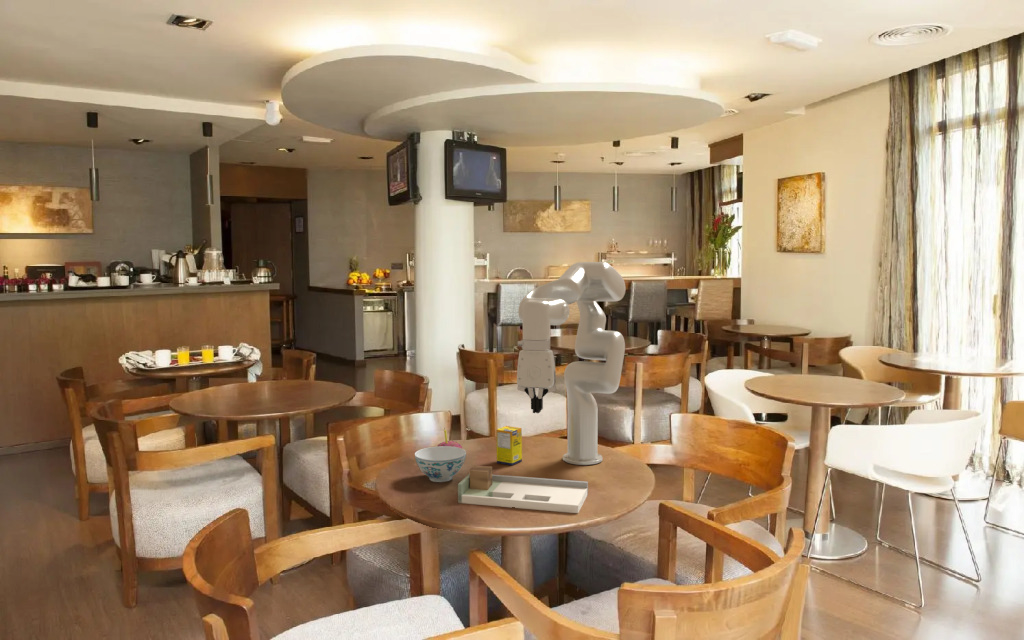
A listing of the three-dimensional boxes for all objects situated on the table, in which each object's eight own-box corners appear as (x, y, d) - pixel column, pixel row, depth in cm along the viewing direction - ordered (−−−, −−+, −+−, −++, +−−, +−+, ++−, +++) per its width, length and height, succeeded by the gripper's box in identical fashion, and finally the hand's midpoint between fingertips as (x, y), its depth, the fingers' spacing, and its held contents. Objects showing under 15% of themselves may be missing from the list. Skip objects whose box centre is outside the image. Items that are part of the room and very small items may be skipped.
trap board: (476, 485, 200) (475, 468, 199) (587, 494, 191) (587, 476, 191) (458, 502, 185) (457, 484, 185) (578, 513, 177) (578, 493, 176)
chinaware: (477, 477, 206) (476, 452, 206) (438, 490, 196) (437, 463, 195) (443, 468, 217) (442, 443, 216) (404, 479, 206) (404, 453, 205)
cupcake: (451, 469, 215) (451, 430, 214) (430, 465, 220) (429, 427, 219) (468, 462, 223) (467, 425, 222) (446, 458, 227) (446, 422, 226)
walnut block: (474, 483, 195) (474, 465, 195) (492, 484, 194) (492, 466, 194) (469, 488, 190) (469, 470, 190) (487, 490, 189) (487, 471, 189)
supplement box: (522, 461, 223) (522, 427, 222) (512, 466, 218) (511, 431, 217) (506, 458, 226) (506, 425, 226) (496, 463, 221) (495, 429, 220)
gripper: (506, 346, 189) (506, 413, 191) (560, 348, 185) (560, 416, 187) (513, 343, 197) (514, 408, 198) (566, 344, 193) (566, 410, 194)
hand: (536, 412), depth 192 cm, fingers closed
